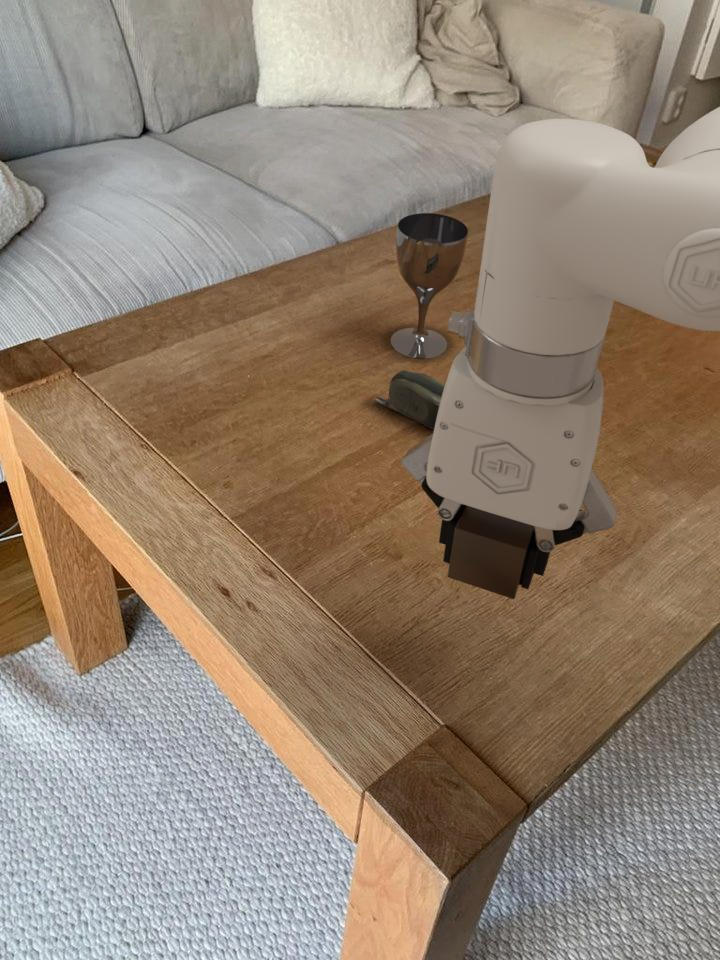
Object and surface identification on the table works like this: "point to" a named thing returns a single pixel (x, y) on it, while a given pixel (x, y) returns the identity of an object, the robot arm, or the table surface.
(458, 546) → the walnut block
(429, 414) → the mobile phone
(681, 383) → the table surface
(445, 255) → the wine glass
